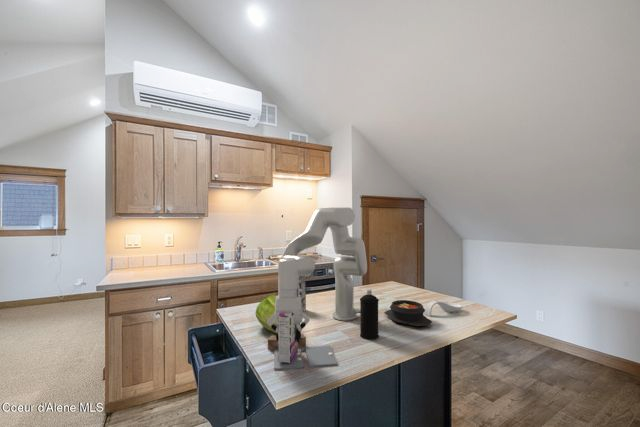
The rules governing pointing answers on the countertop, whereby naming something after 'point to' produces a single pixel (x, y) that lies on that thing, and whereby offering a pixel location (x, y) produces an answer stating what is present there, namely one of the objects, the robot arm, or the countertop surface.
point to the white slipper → (444, 305)
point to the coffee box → (303, 294)
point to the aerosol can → (369, 316)
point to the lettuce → (266, 311)
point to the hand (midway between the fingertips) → (288, 341)
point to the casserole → (408, 313)
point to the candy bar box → (287, 338)
